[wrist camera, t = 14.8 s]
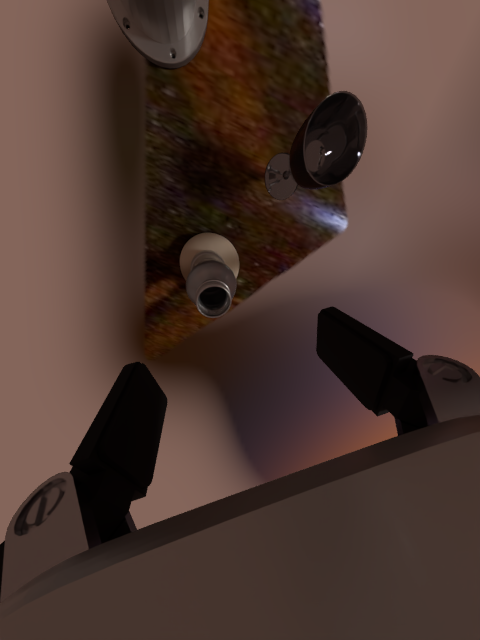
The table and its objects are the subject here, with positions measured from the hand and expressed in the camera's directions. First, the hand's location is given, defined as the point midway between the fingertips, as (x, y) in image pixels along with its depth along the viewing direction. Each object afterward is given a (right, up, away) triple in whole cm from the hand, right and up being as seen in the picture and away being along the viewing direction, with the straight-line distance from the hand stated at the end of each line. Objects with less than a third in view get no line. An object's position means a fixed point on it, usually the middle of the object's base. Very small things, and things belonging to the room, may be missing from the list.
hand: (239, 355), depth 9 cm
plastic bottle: (-7, +13, +26) cm, 30 cm away
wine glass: (+8, +30, +24) cm, 39 cm away
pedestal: (-7, +14, +28) cm, 32 cm away
